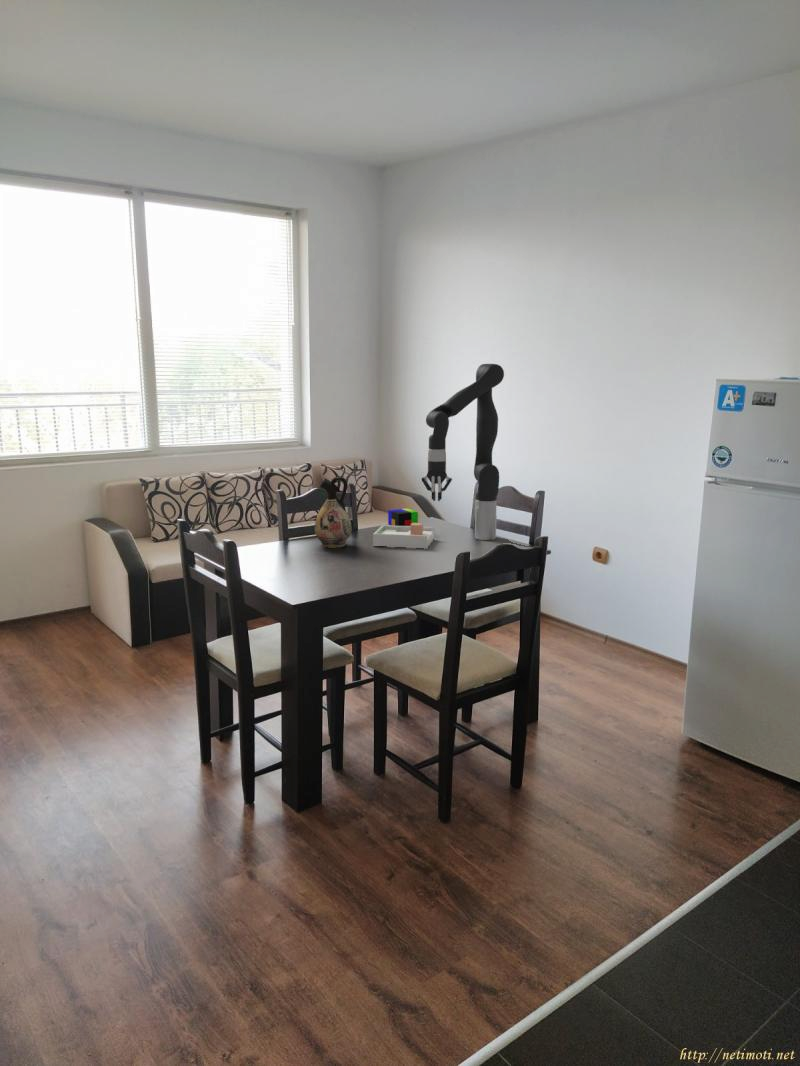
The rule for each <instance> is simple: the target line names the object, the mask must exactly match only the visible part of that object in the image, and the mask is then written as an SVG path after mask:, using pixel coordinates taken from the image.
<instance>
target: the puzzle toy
mask: <svg viewBox="0 0 800 1066" xmlns="http://www.w3.org/2000/svg"><path fill="white" fill-rule="evenodd" d="M387 511H388V512H387V515H388V516H387V517H388V519H387V521H388V522H387V525H391V526H410V525H411V524H412V523H419V512H418V510H417V511H416V510H413V509H411V508H398V509H388V510H387Z"/></svg>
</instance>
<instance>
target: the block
mask: <svg viewBox="0 0 800 1066" xmlns="http://www.w3.org/2000/svg"><path fill="white" fill-rule="evenodd" d="M423 527H424V526H423V523H422V522H421V523H420V522H418V523H412V524H411V525H410V535H422V534H423Z"/></svg>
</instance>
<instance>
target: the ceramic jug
mask: <svg viewBox="0 0 800 1066" xmlns="http://www.w3.org/2000/svg"><path fill="white" fill-rule="evenodd" d="M337 482H340V483H342V484H343V487H342V491H341V494H340V497H339V498H338V496H337V493H338V492H340V487H338V485H337V484H336V483H337ZM316 488H317V489H320V490H323V491H325V492H326V493H327V498H326V501H324V503H323V505H322V506H321V508H320V509H319V512H318V513H317V516H316V519H315V523H314V533H315V535H316V537H317V539H318V540H319V541H320V543H321V546H322V547H323V548H325V547H328V548H327V549H337V547H338V548H342V547H345V546H346V542H347V541H348V539H349V537H350V536H351V535H352V521H351V518H350V516H349V514H348V512H347V509H346V505H345V501H344V499H345V498H346V493H347V489H348V482H347V478H345V477H343V476H342V475H339V476H334V477H333V478H332V480H331V481H328V480H327V479H323V480H322V482H321V483H320V484H318V486H317V487H316Z"/></svg>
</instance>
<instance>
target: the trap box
mask: <svg viewBox="0 0 800 1066" xmlns="http://www.w3.org/2000/svg"><path fill="white" fill-rule="evenodd" d="M434 529H435V527H434V526H423V534H422V535H410V526H391V525H388V524H387V525H386V524H385V525H384V524H382V525H381V526H380V527H379V528H378V529H377V530H376V531H375V532H373V533H372V546H387V547H386V548H395V547H406V548H405V549H416V548H424V549H423V550H428V548H429V547H430V546H431V543H432V542H433V541H434V540H435V538H434V535H435V534H434V533H435V532H434ZM433 539H434V540H433ZM428 546H429V547H428Z"/></svg>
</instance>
